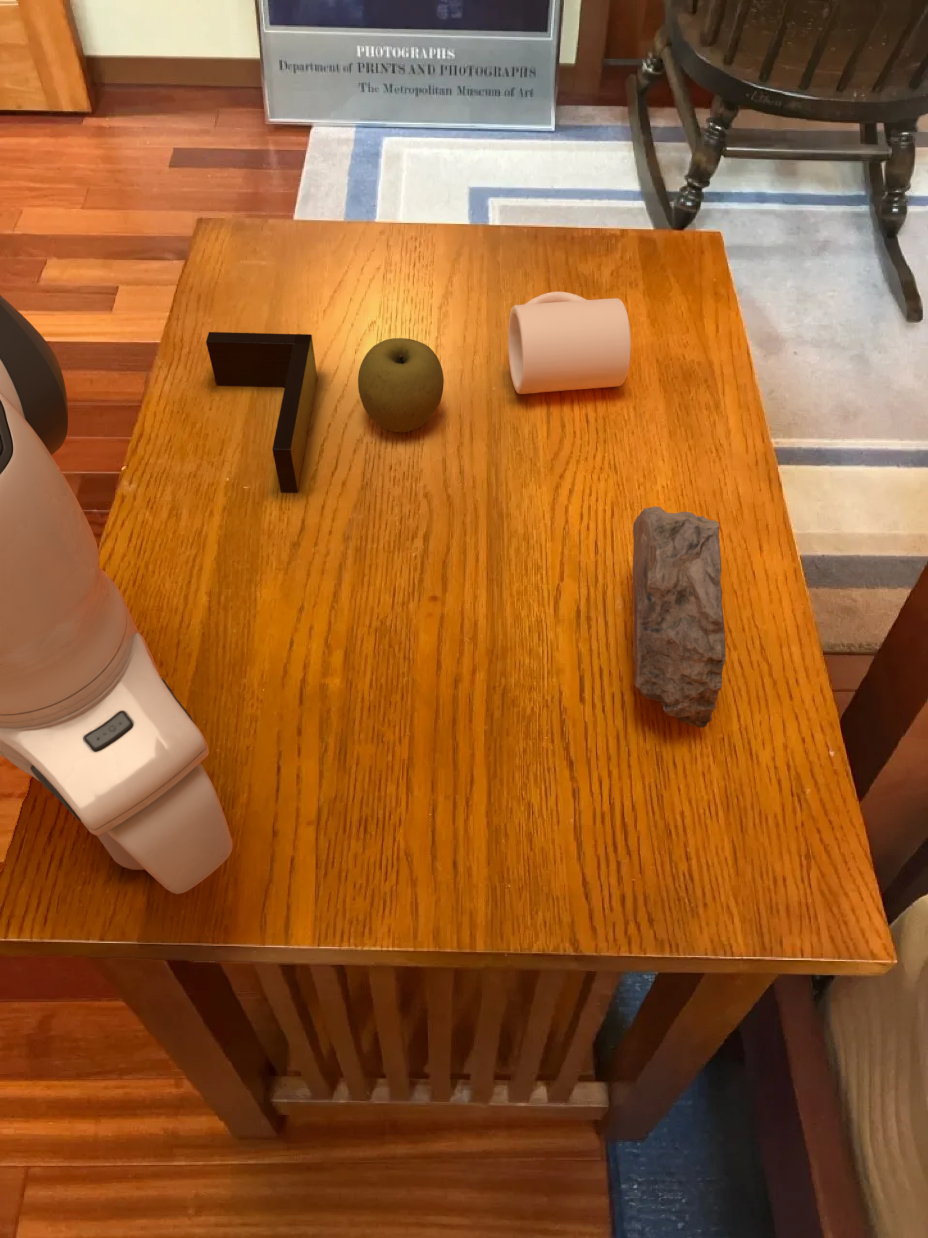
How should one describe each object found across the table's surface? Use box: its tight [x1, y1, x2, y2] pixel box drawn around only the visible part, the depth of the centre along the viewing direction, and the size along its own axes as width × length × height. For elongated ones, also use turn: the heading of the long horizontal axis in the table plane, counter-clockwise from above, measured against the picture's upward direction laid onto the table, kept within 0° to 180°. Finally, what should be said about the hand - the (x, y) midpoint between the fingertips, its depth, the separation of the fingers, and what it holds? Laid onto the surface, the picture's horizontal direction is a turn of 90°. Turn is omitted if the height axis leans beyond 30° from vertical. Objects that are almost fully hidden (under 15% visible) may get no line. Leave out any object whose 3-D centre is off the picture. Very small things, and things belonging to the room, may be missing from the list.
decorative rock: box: [632, 505, 727, 729], centre depth 65 cm, size 16×7×15 cm, turn 173°
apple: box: [357, 337, 445, 433], centre depth 84 cm, size 8×8×7 cm
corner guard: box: [205, 331, 318, 493], centre depth 83 cm, size 10×16×5 cm, turn 179°
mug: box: [507, 291, 632, 395], centre depth 88 cm, size 12×10×8 cm
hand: (131, 796), depth 57 cm, fingers open, 8 cm apart
